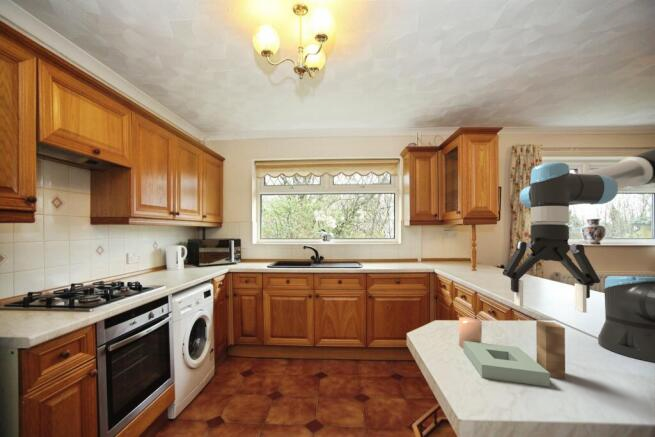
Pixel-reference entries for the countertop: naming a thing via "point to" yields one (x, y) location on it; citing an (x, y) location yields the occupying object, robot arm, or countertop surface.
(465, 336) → the round peg
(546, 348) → the square peg
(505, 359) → the bore plate
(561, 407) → the countertop surface
